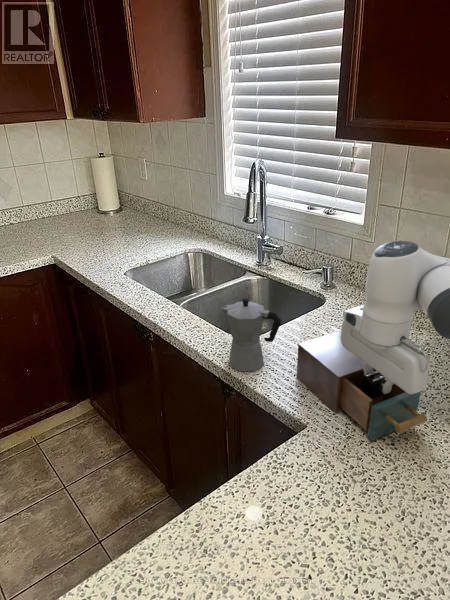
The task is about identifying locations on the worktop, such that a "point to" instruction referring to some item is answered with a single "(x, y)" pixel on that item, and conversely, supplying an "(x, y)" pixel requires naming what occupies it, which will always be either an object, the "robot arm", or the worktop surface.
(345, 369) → the cabinet
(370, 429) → the drawer
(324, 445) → the worktop surface
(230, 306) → the coffeepot
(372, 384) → the clip
